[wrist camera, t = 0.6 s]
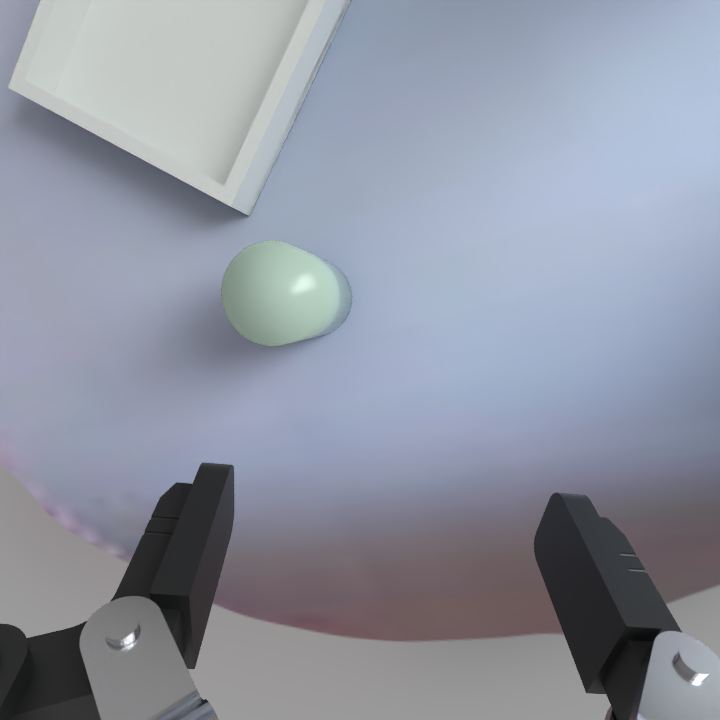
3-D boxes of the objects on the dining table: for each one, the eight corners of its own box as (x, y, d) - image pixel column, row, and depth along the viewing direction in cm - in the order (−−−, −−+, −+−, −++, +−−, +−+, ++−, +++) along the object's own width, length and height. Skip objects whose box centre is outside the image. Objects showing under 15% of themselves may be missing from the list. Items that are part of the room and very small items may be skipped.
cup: (298, 245, 37) (248, 222, 27) (365, 281, 36) (340, 271, 26) (264, 313, 38) (204, 315, 28) (330, 349, 37) (292, 364, 27)
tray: (140, -136, 36) (108, -184, 32) (364, -29, 34) (356, -66, 31) (46, 107, 38) (7, 87, 35) (249, 216, 37) (230, 206, 34)
